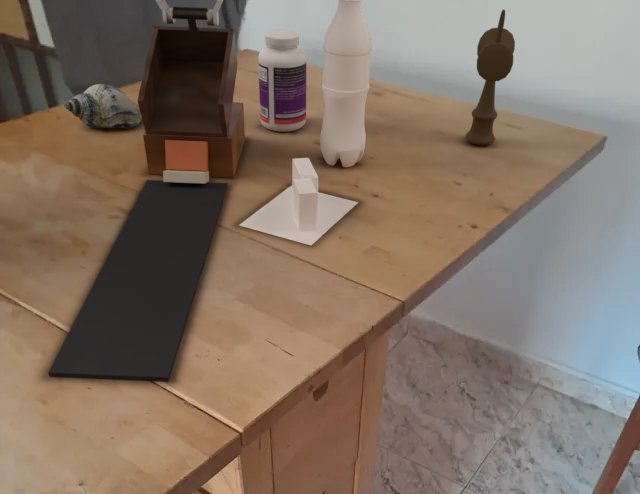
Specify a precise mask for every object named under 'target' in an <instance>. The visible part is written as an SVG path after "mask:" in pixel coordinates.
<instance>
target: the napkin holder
mask: <svg viewBox="0 0 640 494" xmlns="http://www.w3.org/2000/svg"><path fill="white" fill-rule="evenodd" d="M291 161H292V162H291V166H292V167H291V169H292V170H291V172H292V174H291V177H292V178H291V185H289V187H287V188H286V189H285V190H283V191H282V192H281V193H279V194H278V195H277V196H275V197H274V198H273V199H271V200H270V201H269V202H267V203H266V204H265V205H263V206H262V207H261V208H260V209H258V210H257V211H256V212H254V213H253V214H252V215H250V216H249V217H248V218H246V219H245V220H243V221H242V222H241V223H239V224H238V226H240V227H243V228H247V229H250V230H253V231H258V232H261V233H265V234H268V235H272V236H275V237H279V238H282V239H286V240H290V241H293V242H296V243H301V244H305V245H308V246H312V245H314V244H315V243H316V242H317V241H318V240H319V239H320V238H321V237H322V236H324V234H325V233H327V232H328V231H329V230H330V229H332V227H334V226H335V224H337V223H338V222H339V221H340V220H341V219H342V218H343V217H344V216H345V215H347V213H349V212H350V211H351V210H352V209H353V208H354V207H355V206H356V205H358V203H359V201H354V200H350V199H347V198H344V197H343V198H342V197H338V196H335V195H331V194H326V193H322V192H319V175H318V174H317V172H316V170H315V168H314V166H313V164H312V162H311V160H310V158H309V157H299V158H292V160H291Z"/></svg>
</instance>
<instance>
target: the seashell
mask: <svg viewBox="0 0 640 494" xmlns="http://www.w3.org/2000/svg"><path fill="white" fill-rule="evenodd" d="M63 107H64V108H65V109H66V110H68V112H70V113H71V114H72V115H73V116H75V118H79V120H80V121H81V123H83V125H84V126H86V127H89V128H93V129H94V128H95V129H96V128H101V129H113V128H116V129H119V128H120V129H126V130H129V129H133V128H135V127H137V126H138V125H139V124H140V123H141V122H142V116H141V113H140V109H139V105H138V101H136V100H134V99H131V98H130V97H129V96H127V94H126V93H125V92H124V91H123V90H121V89H120V88H118V87H117V86H116V87H115V86H113V85H112V84H108V83H97V84H93V85H91V86H89V87H88V88H87V89H86V90H85V91H83V92H81V93H78V94H76V95H74V97H73V98H70V99H69V100H68V101H67V102H65V103H64V104H63Z"/></svg>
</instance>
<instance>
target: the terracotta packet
mask: <svg viewBox="0 0 640 494" xmlns="http://www.w3.org/2000/svg"><path fill="white" fill-rule="evenodd" d="M165 152H166V169H172V170H196V171H208V142H204V141H180V140H165Z"/></svg>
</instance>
